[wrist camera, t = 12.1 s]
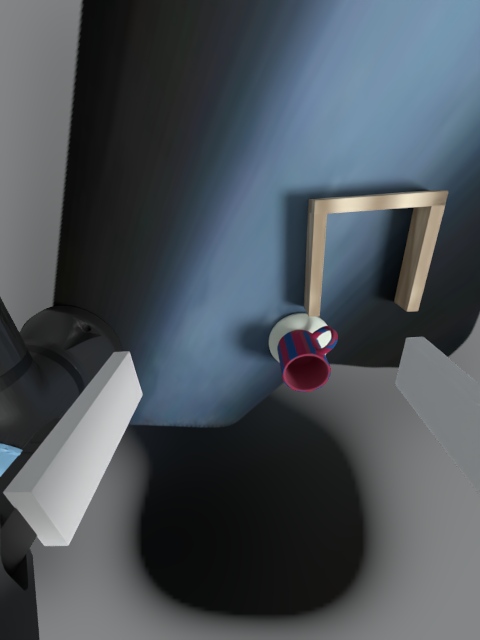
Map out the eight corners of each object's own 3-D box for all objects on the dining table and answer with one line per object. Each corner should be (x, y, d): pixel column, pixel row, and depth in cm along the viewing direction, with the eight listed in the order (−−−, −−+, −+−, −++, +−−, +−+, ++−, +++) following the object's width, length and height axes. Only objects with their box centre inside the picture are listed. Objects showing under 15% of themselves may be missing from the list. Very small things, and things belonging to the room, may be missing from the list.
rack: (303, 306, 41) (308, 316, 37) (308, 199, 34) (315, 200, 31) (404, 301, 40) (418, 310, 37) (429, 190, 33) (448, 190, 30)
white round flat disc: (269, 366, 46) (269, 368, 45) (267, 314, 41) (268, 316, 41) (327, 364, 45) (328, 366, 45) (333, 311, 41) (334, 312, 40)
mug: (268, 348, 43) (272, 375, 37) (315, 306, 40) (327, 328, 34) (296, 370, 45) (304, 399, 39) (343, 332, 42) (360, 357, 36)
